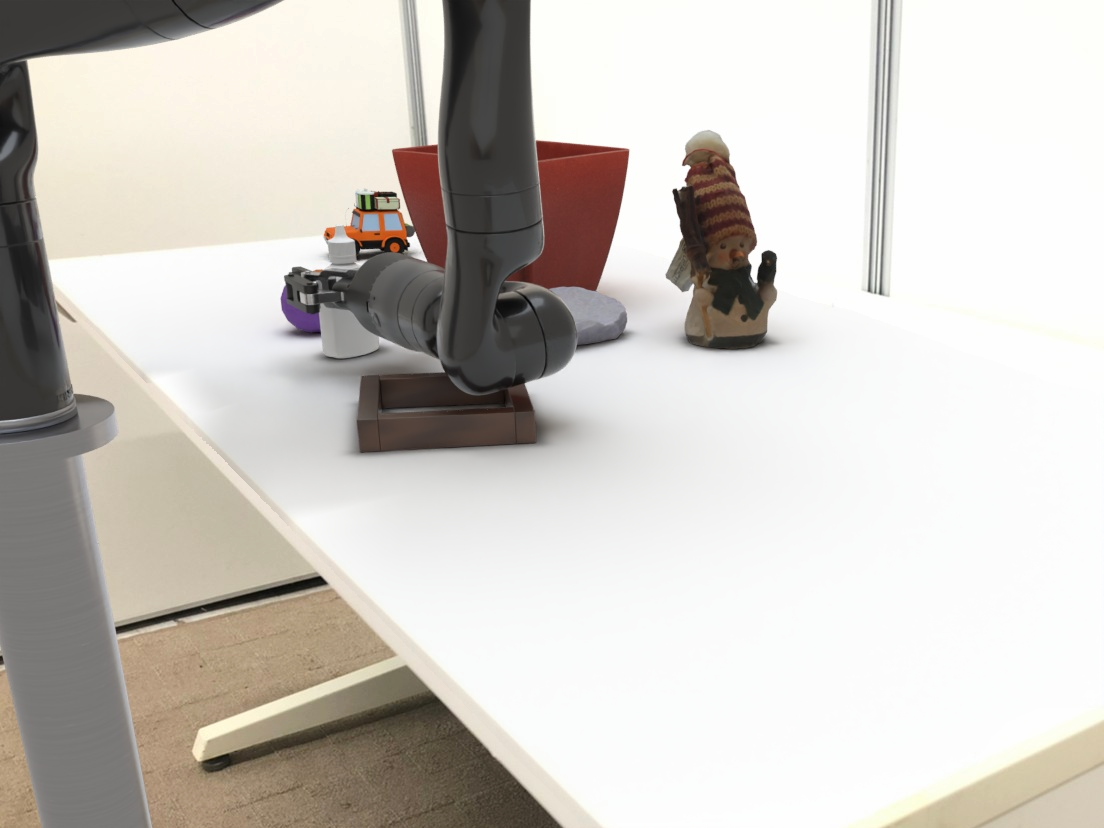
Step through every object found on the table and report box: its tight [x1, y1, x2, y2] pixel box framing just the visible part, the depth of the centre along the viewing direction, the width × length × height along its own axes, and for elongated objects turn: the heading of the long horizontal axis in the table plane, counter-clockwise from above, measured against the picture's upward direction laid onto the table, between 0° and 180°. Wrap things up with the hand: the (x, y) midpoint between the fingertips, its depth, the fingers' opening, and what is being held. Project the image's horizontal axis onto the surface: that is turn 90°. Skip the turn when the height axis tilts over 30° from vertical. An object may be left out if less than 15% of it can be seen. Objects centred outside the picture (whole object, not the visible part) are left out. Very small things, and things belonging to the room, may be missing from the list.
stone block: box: [549, 287, 628, 346], centre depth 129 cm, size 12×5×10 cm
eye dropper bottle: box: [316, 224, 380, 360], centre depth 119 cm, size 4×6×12 cm
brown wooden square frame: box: [356, 371, 537, 453], centre depth 101 cm, size 13×13×2 cm
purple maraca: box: [279, 268, 323, 333], centre depth 135 cm, size 6×6×20 cm
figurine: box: [665, 129, 778, 350], centre depth 127 cm, size 13×12×20 cm
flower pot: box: [391, 139, 630, 291], centre depth 143 cm, size 19×19×17 cm
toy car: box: [322, 188, 416, 258], centre depth 170 cm, size 7×12×9 cm, turn 121°
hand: (335, 274), depth 120 cm, fingers open, 7 cm apart
